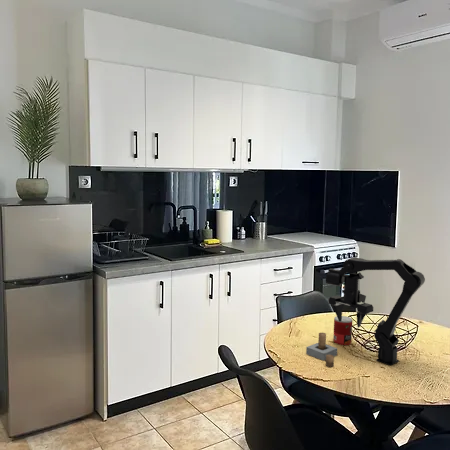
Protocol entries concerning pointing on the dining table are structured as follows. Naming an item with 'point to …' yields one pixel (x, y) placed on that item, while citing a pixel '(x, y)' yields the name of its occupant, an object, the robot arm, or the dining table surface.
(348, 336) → the canned food
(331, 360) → the short pin
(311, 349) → the socket block
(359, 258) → the robot arm
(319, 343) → the long pin
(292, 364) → the dining table surface
